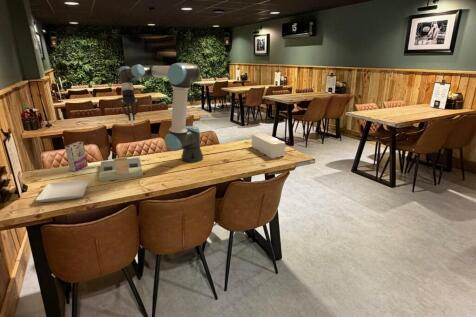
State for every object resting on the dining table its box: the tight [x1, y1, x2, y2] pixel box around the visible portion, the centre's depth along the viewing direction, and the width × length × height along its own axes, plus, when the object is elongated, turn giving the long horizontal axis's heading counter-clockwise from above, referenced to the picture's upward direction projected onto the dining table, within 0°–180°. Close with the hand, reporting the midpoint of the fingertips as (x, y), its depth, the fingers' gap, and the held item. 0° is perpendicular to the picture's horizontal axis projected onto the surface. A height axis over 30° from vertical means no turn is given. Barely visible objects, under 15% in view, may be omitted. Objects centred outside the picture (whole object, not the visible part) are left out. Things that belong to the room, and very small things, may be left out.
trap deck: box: [98, 157, 144, 182], centre depth 187 cm, size 30×24×2 cm
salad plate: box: [35, 179, 91, 203], centre depth 155 cm, size 21×21×3 cm
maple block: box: [113, 156, 129, 175], centre depth 176 cm, size 7×7×8 cm
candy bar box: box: [64, 141, 88, 172], centre depth 189 cm, size 11×5×16 cm, turn 168°
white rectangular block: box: [251, 132, 286, 159], centre depth 222 cm, size 32×11×11 cm, turn 24°
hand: (132, 125), depth 199 cm, fingers closed
